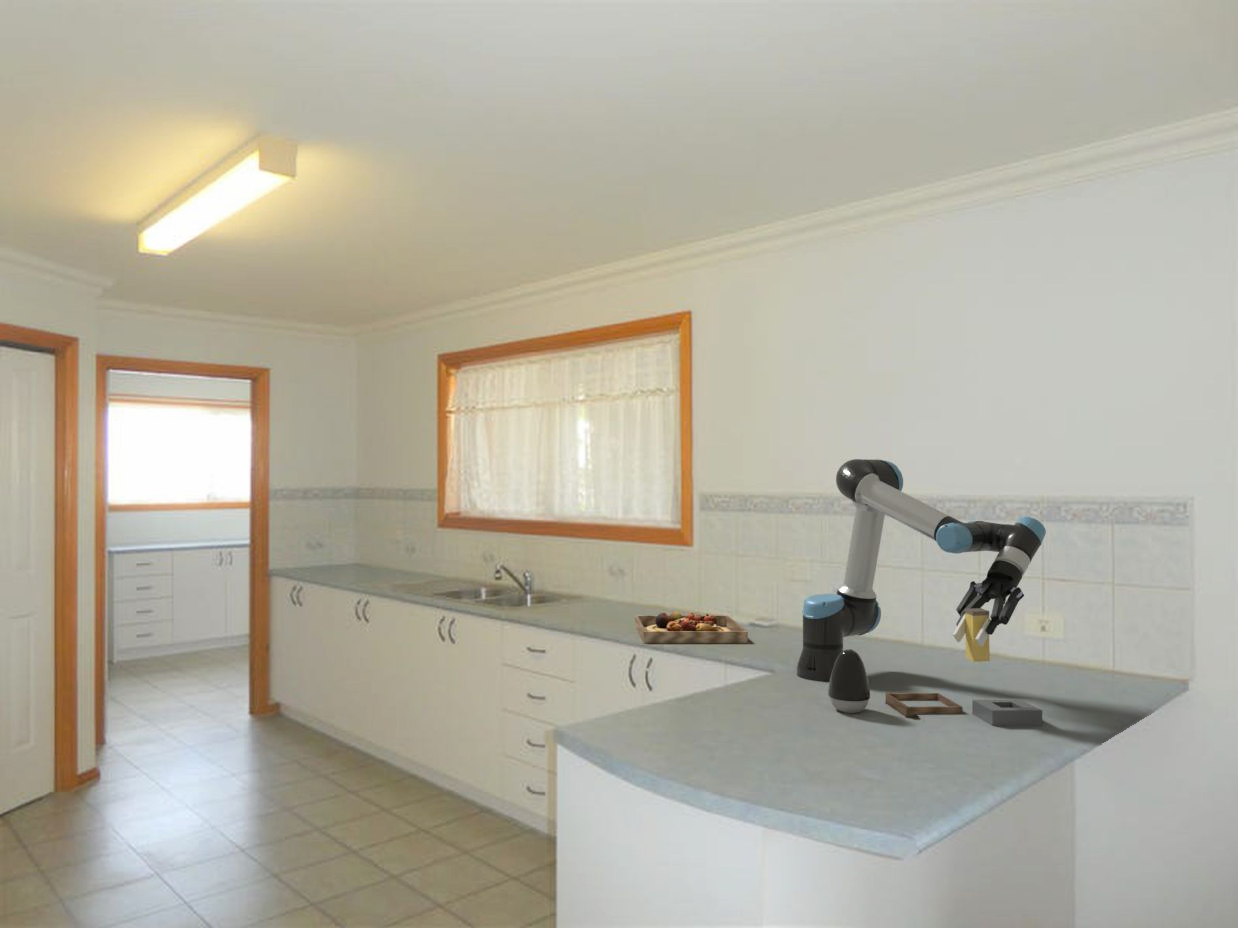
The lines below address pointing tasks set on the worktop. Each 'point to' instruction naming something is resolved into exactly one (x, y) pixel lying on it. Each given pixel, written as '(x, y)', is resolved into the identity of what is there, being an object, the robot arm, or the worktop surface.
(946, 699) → the tray
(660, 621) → the wooden plate with food
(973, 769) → the worktop surface
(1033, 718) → the grey block with hole
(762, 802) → the worktop surface
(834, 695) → the black egg shaped container
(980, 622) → the plug
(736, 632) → the wooden fruit tray
